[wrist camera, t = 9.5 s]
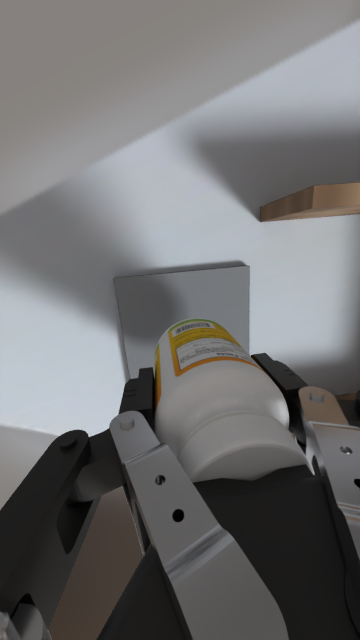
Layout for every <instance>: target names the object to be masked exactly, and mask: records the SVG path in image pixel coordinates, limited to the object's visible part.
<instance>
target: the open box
mask: <svg viewBox="0 0 360 640" xmlns="http://www.w3.org/2000/svg"><path fill="white" fill-rule="evenodd" d="M353 214H360V182H357V183H343V184H329V185H315V186H312V187H309V188H307V189H304V190H302V191H299V192H297V193H294V194H292V195H289V196H287V197H284V198H282V199H279V200H277V201H274V202H272V203H269V204H267V205H264V206H262V207H260V222H267V221H279V220H292V219H304V218H316V217H329V216H341V215H353ZM355 397H356V393H355V394H348V395H341V396H335V398H336V399H343V400H355ZM292 436H293V437H294V439H295V435H294V433H292Z"/></svg>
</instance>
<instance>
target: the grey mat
mask: <svg viewBox="0 0 360 640" xmlns="http://www.w3.org/2000/svg"><path fill="white" fill-rule="evenodd" d="M114 284H115V290H116V296H117V303H118V309H119V315H120V321H121V327H122V333H123V339H124V345H125V351H126V357H127V363H128V369H129V375H130V379H134V378H138V374H139V369H140V368H148V367H153V371H154V378H155V351H156V347H157V344H158V342H159V340H160V338H161V336H162V335H163V334H164V332H165V331H166V330H167V329H168V328H170V327H171V326H172V325H174V324H175V323H177V322H179V321H182V320H185V319H188V318H206V319H210V320H213V321H215V322H217V323H219V324H220V325H221V326H223V327H224V328H225V329H226V330H227V331H228V332H229V333H230V334H231V335H232V337H233V338H234V339H235V340H236V341H237V342H238V343H239V344H240V346H241V347H242V348H243V349H244V350H245V351H246V352H247V353H248V354H249V285H250V266H248V265H246V266H235V267H225V268H214V269H204V270H193V271H182V272H172V273H161V274H150V275H140V276H129V277H119V278H114Z"/></svg>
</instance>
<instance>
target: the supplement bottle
mask: <svg viewBox="0 0 360 640" xmlns="http://www.w3.org/2000/svg"><path fill="white" fill-rule="evenodd" d="M154 408H155V411H154V423H155V436H156V437H157V439H158V441H159V442H160V444H162V443H164V442H165V443H167V445H168V446H169V447H170V449H171V451H172V452H173V454H174V455H175V457H176V458H177V460H178V461H179V463H180V464H181V466H182V468H183V469H184V471H185V472H186V474H187V475H188V477H189V478H190V480H191V481H192V483H194V482H201V481H207V480H213V479H219V478H226V479H237V480H249V481H253V480H256V479H258V478H261V477H263V476H265V475H267V474H269V473H271V472H273V471H275V470H277V469H280V468H287V467H293V466H299V465H305V464H306V465H307V466H308V468H309V469H310V471H311V472H312V473H313V475H315V473H314V470H313V467H312V465H311V463H310V461H309V460H308V458H307V457H306V455H305V454H304V452H303V451H302V449H301V448H300V446H299V445H298V443H297V442H296V440H295V439H294V437H293V436H292V434H291V433H290V431H289V430H288V429H289V412H288V407H287V404H286V401H285V399H284V397H283V394H282V393H281V391H280V390H279V388H278V387H277V386H276V384H275V383H274V382H273V380H272V379H271V378H270V377H269V376H268V375H267V374H266V373H265V372H264V371H263V370H262V368H261V367H260V366H259V365H258V364H257V363H256V362H255V361H254V360H253V359H252V358H251V357H250V355H249V354H248V353H247V352H246V351H245V350H244V349H243V348H242V347H241V346H240V344H239V343H238V342H237V341H236V340H235V339H234V338H233V337H232V335H231V334H230V333H229V332H228V331H227V330H226V329H225V328H224V327H223V326H221V325H220V324H219V323H217V322H215V321H213V320H210V319H206V318H188V319H185V320H182V321H179V322H177V323H175V324H174V325H172V326H171V327H170V328H168V329H167V330H166V331H165V332H164V334H163V335H162V336H161V338H160V340H159V342H158V344H157V347H156V351H155V407H154Z"/></svg>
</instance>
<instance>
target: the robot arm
mask: <svg viewBox="0 0 360 640" xmlns="http://www.w3.org/2000/svg"><path fill="white" fill-rule="evenodd" d="M251 358H252V359H253V360H254V361H255V362H256V363H257V364H258V365H259V366H260V367H261V368H262V370H263V371H264V372H265V373H266V374H267V375H268V376H269V377H270V378H271V379H272V380H273V382H274V383H275V384H276V386H277V387H278V388H279V390H280V391H281V393H282V394H283V397H284V399H285V401H286V404H287V407H288V412H289V429H288V430H289V431H290V433H291V434H292V433H294V435H295V440H296V442H297V443H298V445H299V446H300V448H301V449H302V451H303V452H304V454H305V455H306V457H307V458H308V460H309V461H310V463H311V465H312V467H313V470H314V473H315V475H313V473H312V472H311V471H310V469H309V468H308V466H307V465H306V464H305V465H299V466H293V467H287V468H280V469H277V470H275V471H273V472H271V473H269V474H267V475H265V476H263V477H261V478H258V479H256V480H253V481H249V480H237V479H226V478H219V479H213V480H207V481H201V482H194V483H192V481H191V480H190V478H189V477H188V475H187V474H186V472H185V471H184V469H183V468H182V466H181V464H180V463H179V461H178V460H177V458H176V457H175V455H174V454H173V452H172V451H171V449H170V447H169V446H168V445H167V443H165V442H164V443H162V444H160V442H159V441H158V439H157V437H156V436H155V423H154V411H155V408H154V407H155V378H154V371H153V367H148V368H140V369H139V374H138V378H134V379H130V380H129V381H128V382H127V383H126V384H125V387H124V392H123V398H122V401H121V405H120V410H119V414H118V415H117V416H116V417H115V418H114V419H113V420H112V421H111V423H110V426H109V429H107V430H106V431H104V432H102V433H99V434H96V435H94V436H91V437H88V434H87V433H86V432H85V431H83V430H73V431H69V432H66V433H64V434H62V435H61V436H59V437H58V438H56V439H55V440H54V441H53V442H52V443H51V445H50V446H49V447H48V449H47V450H46V451H45V452H44V454H43V455H42V456H41V458H40V459H39V460H38V462H37V463H36V464H35V466H34V467H33V468H32V469H31V471H30V472H29V473H28V475H27V476H26V477H25V479H24V480H23V481H22V483H21V484H20V485H19V487H18V488H17V489H16V490H15V492H14V493H13V494H12V496H11V497H10V498H9V500H8V501H7V502H6V504H5V505H4V506H3V508H2V509H1V510H0V640H52V639H51V636H50V634H49V632H48V629H49V626H50V624H51V621H52V619H53V616H54V614H55V611H56V609H57V606H58V604H59V601H60V599H61V596H62V594H63V591H64V589H65V586H66V584H67V581H68V579H69V576H70V574H71V571H72V569H73V566H74V564H75V561H76V559H77V556H78V554H79V551H80V549H81V546H82V544H83V542H84V539H85V537H86V534H87V532H88V529H89V527H90V524H91V521H92V519H93V517H94V514H95V512H96V509H97V507H98V504H99V502H100V499H101V496H102V495H103V494H106V493H108V492H110V491H112V490H114V489H116V488H118V487H120V486H122V487H123V490H124V493H125V496H126V499H127V502H128V505H129V508H130V511H131V514H132V518H133V520H134V524H135V527H136V530H137V535H138V538H139V542H140V546H141V549H142V552H143V558H142V559H141V561H140V563H139V565H138V567H137V568H136V570H135V572H134V574H133V576H132V577H131V579H130V581H129V583H128V584H127V586H126V588H125V590H124V592H123V593H122V595H121V597H120V599H119V600H118V602H117V604H116V606H115V607H114V609H113V611H112V613H111V615H110V616H109V618H108V620H107V622H106V623H105V625H104V627H103V629H102V631H101V633H100V634H99V636H98V638H97V639H96V640H360V391H358V392H357V393H356V397H355V400H343V399H336V398H335V396H334V395H333V394H332V393H331V392H329V391H327V390H325V389H322V388H319V387H313V386H309V385H308V384H306V383H305V382H304V381H303V380H302V379H301V378H300V377H298V376H297V375H295V373H294V372H293V371H292V370H290V369H289V368H288V367H287V366H286V365H285V364H283V363H281V362H279V361H273V360H272V359H271V358H270V357H269V356H268V355H267V354H266V353H261V354H253V355H251Z"/></svg>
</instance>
